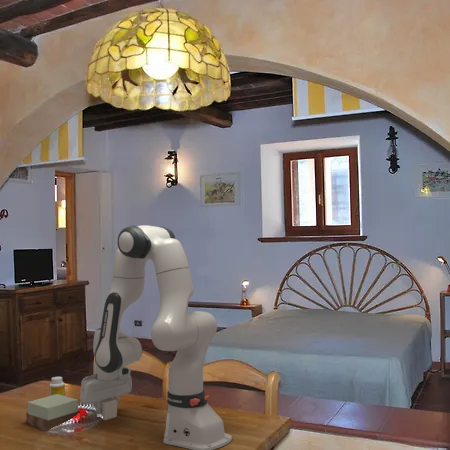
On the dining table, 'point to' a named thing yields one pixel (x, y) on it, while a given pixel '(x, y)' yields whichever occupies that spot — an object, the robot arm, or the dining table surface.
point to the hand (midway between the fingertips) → (106, 411)
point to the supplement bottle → (57, 386)
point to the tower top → (52, 406)
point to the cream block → (108, 408)
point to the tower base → (49, 421)
